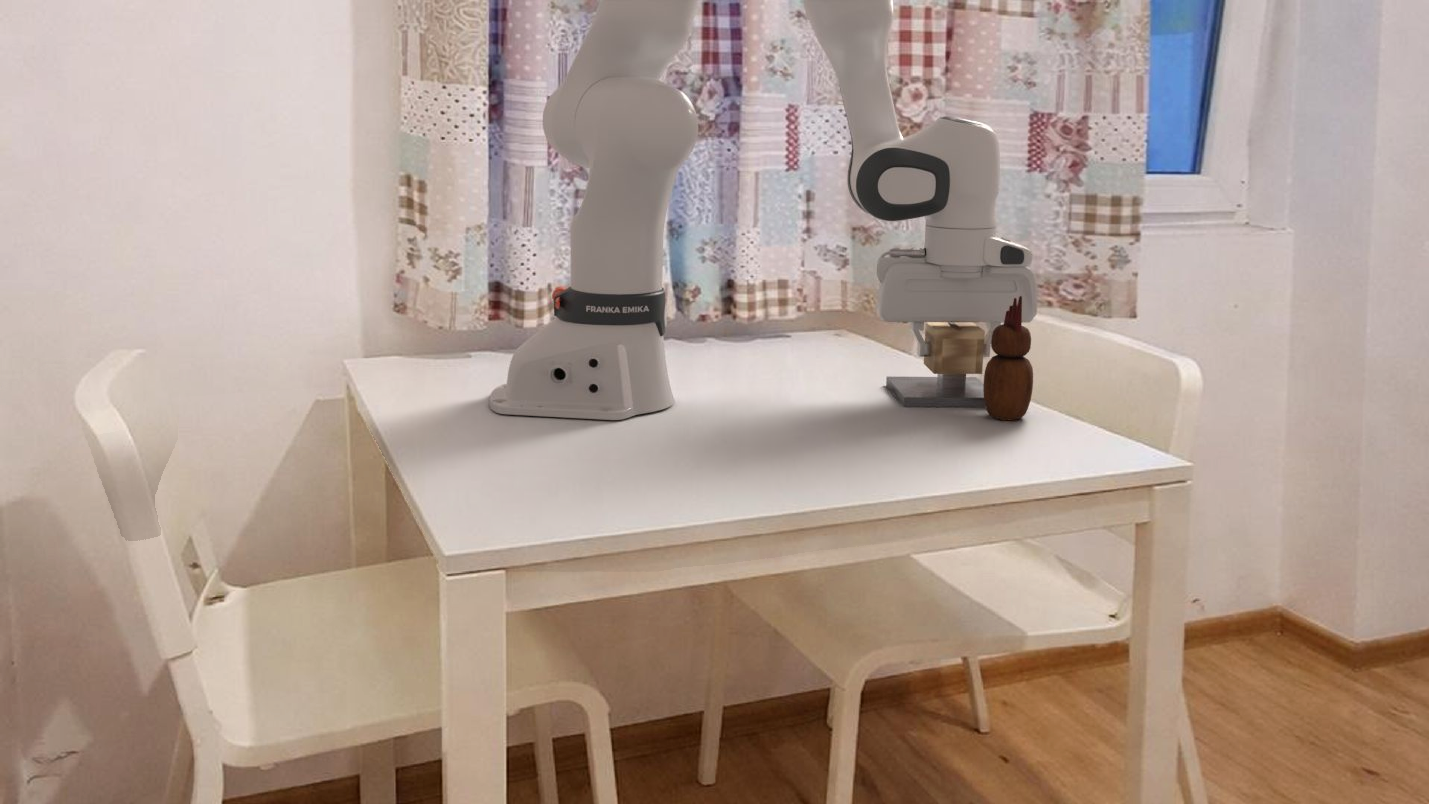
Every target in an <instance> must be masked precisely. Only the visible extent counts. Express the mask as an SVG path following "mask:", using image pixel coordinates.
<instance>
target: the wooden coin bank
mask: <svg viewBox="0 0 1429 804" xmlns="http://www.w3.org/2000/svg"><path fill="white" fill-rule="evenodd" d="M924 330H925V332H924V341H929V342H930V343H931V344H932V347H931V350H930V351H931V356H930V357H923V365H924V366H926V367H927V369H929V371H930V372H932V374H934V375H938V374H966V375H982V374H983V370H984V369H983V368H984V367H983V365H984V357H983V353H984V338H985V335H986V331H985V330H984V329H983V328H981V327H980V326H978V325H977V324H976V323H975V322H925V327H924Z"/></svg>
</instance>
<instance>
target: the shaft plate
mask: <svg viewBox="0 0 1429 804" xmlns="http://www.w3.org/2000/svg"><path fill="white" fill-rule="evenodd" d="M936 375H937V376H886V378H885V379H886V381H885V384H886V387H887V388H888V390H890V392H891V393H892V394H893V396H894V397H895V398H896V399H897V401H898V402H899V403H900V404H901V406H903V408H904V407H908V408H909V407H915V408H916V407H918V408H919V407H923V408H927V407H930V408H931V407H932V408H935V407H937V408H938V407H939V408H941V407H942V408H986V406H985V400H984V390H983V386H984V382H982V381H981V380H980V379H979V378H977V376H967V374H936Z"/></svg>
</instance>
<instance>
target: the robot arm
mask: <svg viewBox="0 0 1429 804" xmlns="http://www.w3.org/2000/svg"><path fill="white" fill-rule="evenodd" d="M801 1H802V3H803V8H804V10H805V13H806V16H807V18H808V21H809V24H810V25H811V28H812V30H813V32H814V34H815V36H816V38H817V39H816V40H817V41H818V43H819V45H820V46H821V48H822V50H823V52H824V53H825V55H826V57H827V59H828V61H829V63H830V64H831V68H832V69H833V72H834V74H835V76H836V79H837V82H838V85H839V90H840V93H841V98H842V99H841V100H842V102H843V107H844V111H845V116H846V119H847V125H848V129H849V133H850V139H851V154H850V155H851V156H850V160H849V164H848V170H847V188H848V192H849V194H850V196H851V198H852V201H853V202H854V203H855V205H857V207H858V208H859V209H860V210H862V211H863V212H864V213H865V214H868V215H870V216H871V217H873V218H875V219H877V220H879V221H882V222H885V223H899V222H900V223H901V222H903V221H904V222H905V221H907V220H911V219H919V218H923V217H924V219H925V228H924V229H925V231H924V246H923V247H924V248H923V247H922V248H919V247H917V248H916V247H915V248H914V247H913V248H904V249H903V248H899V247H898V248H897V247H895V248H894V247H893V248H890V249H889V250H888V251H885V252H883V254H881V255H880V256H879V258H878V260H877V263H876V277H877V279H878V282H879V285H878V288H877V289H878V290H877V297H876V305H875V310H876V311H875V312H876V314H877V315H878V317H879V318H880V319H881V320H883V322H886V323H909V329H910V332H911V333H912V335H913V337H914V339H915V340H916V342H917V345H916V346H917V348H916V350H917V351H916V353H917V356H918V357H919V358H920V357H921V358H924V357H930V356H931V351H930V350H931V347H932V344H931V343H930V342H929V341H925V338H924V337H923V336H922V334H921V332H922V331H924V330H925V323H926V322H973V323H985V329H987V330H988V331H987V333H985V338H984V353H983V358H989V357H990V356H991V340H992V334H993V331H994V330H995V328H996V327H997V326H1000V325H1002V323H1003V324H1004V320H1005V315H1006V311H1009V307H1010V306H1013V301H1014V298H1016V299H1017V304H1018V301H1019V297H1020V296H1022V323H1027V324H1029V323H1031V322H1032V321H1033V320H1034V319H1035V318H1036V316H1037V314H1038V286H1037V285H1038V284H1037V278H1036V275H1035V273H1034V271H1033V270H1032V269H1031V268H1030V267H1028V266H1030V265H1031V264H1032V262H1033V255H1034V254H1033V252H1032V250H1030V249H1029V248H1028V247H1026V246H1024V245H1022V244H1019V243H1016V242H1014V241H1011V240H1010V239H1008V238H1005V237H998V236H997V229H998V228H997V225H998V223H997V216H996V213H995V208H996V201H997V198H998V195H999V191H1000V178H1001V174H1000V173H1001V153H1000V151H1001V150H1000V142H999V138H998V134H997V133H996V132H995V130H994V129H993V128H992V127H991V126H989V125H988V124H986V123H984V122H979V121H975V120H970V119H967V118H966V119H965V118H960V117H955V116H950V115H949V116H948V115H947V116H941V117H938V118H937V119H936V120H935V121H933V123H931V124H929V125H928V126H926V127H924V128H922V129H920V130H919V131H917V132H915V133H912V134H910V135H908V136H905V137H904V136H903V134H902V132H901V130H900V127H899V126H900V125H899V123H898V119H897V113H896V110H895V105H894V100H893V95H892V90H891V87H890V82H889V78H888V77H889V76H888V69H887V50H888V49H887V48H888V42H889V38H890V34H891V30H892V26H893V22H894V15H895V14H894V0H801ZM699 2H700V0H599V2H598V6H597V9H596V12H595V14H594V18H593V20H592V22H591V24H590V27H589V29H588V31H587V33H586V35H585V37H584V39H583V42H582V44H581V46H580V47H579V49H578V51H577V54H576V55H575V57H574V60H573V62H572V64H571V65H570V68H569V70H568V71H567V73H566V76H565V77H564V79H563V81H562V82H561V84H560V85H559V86H558V87H557V89H555V90H554V91H553V92H552V94H550V96H549V98H548V99H547V101H546V102H545V105H544V108H543V113H542V128H543V129H542V130H543V132H544V136H545V138H546V141H547V143H548V144H549V146H550V147H551V148H552V149H553V150H554V151H555V152H556V153H557V154H559V156H561V157H562V158H564V159H566V160H567V161H569V162H571V163H572V164H574V165H576V166H579V167H581V168H585V169H589V172H588V177H587V181H586V182H587V183H586V187H585V192H584V196H583V199H582V201H581V204H580V207H579V209H578V211H577V212H576V213H575V214H574V217H573V218H572V221H571V223H570V237H569V238H570V286H569V287H565V286H561V285H560V286H556V287H555V288H554V290H553V291H552V294H551V299H552V301H553V316H554V317H556V318H554V319H553V320H551V321H550V322H548V323H547V324H546V325H545V326H544V327H542V328H540V330H538V331H537V332H536V333H535V334H533V335H532V336H531V337H529V338H528V339H527V340H526V341H524V342H523V343H522V344H521V345H520V346H519V347H517V348H516V350H515V352H514V353H513V354H512V358H511V360H510V363H509V366H508V371H507V380H506V383H504V384H501V385H499V386H497V387H496V388H494V389H493V390H492V391H491V393H490V395H489V403H488V405H489V408H490V409H491V410H492V411H493V412H495V413H497V414H501V415H514V416H531V417H532V416H533V417H548V418H549V417H550V418H551V417H553V418H569V419H571V418H572V419H588V420H606V421H620V420H625V419H628V418H632V417H634V416H636V415H642V414H648V413H654V412H657V411H658V412H659V411H661V410H664V409H667V408H669V407H671V406H672V405H673V404H675V398H674V394H673V389H672V388H671V383H670V378H669V373H668V372H669V371H668V367H667V366H668V365H667V361H666V360H667V358H666V353H665V352H666V350H665V342H664V340H665V339H664V335H665V334H666V329H667V320H668V319H667V317H668V315H667V311H668V306H667V305H668V300H667V295H666V289H665V287H663V269H664V268H663V262H664V257H663V256H664V255H663V254H664V232H665V223H666V215H667V211H668V207H669V202H670V198H671V195H672V191H673V187H674V184H675V181H676V178H677V175H678V172H679V170H680V168H681V166H682V165H683V163H685V162H686V160H687V159H688V158H689V157H690V155H691V154H692V152H693V151H694V149H695V145H696V143H697V140H698V133H699V121H698V115H697V111H696V109H695V106H694V105H693V103H692V102H691V100H690V99H689V97H688V96H687V95H686V94H685V93H684V92H683V91H682V90H680V89H678V88H677V87H675V86H673V85H670V84H668V83H667V82H664V81H662V80H660V79H661V78H662V76H663V74H664V72H665V70H666V69H667V68H668V66H669V64H670V63H671V61H672V60H673V58H674V57H676V55H677V54H678V53H679V52H680V51H681V50H682V49H683V48H684V46H685V45H686V43H687V41H688V39H689V38H690V35H691V30H692V27H693V23H694V20H695V17H696V12H697V9H698V4H699ZM1022 323H1021V324H1022ZM920 331H921V332H920Z"/></svg>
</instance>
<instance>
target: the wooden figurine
mask: <svg viewBox="0 0 1429 804" xmlns="http://www.w3.org/2000/svg"><path fill="white" fill-rule="evenodd" d="M1031 345H1032V336H1031V332H1030V330H1029V328H1028V327H1026V326H1023V325H1022V296H1020V297H1019V301H1018V304H1017V299H1016V298H1014V301H1013V306H1010V307H1009V311H1006V315H1005V320H1004V323H1003V324H1001V325H1000V326H997V327H996V328H995V330H994V331H993V334H992V340H991V346H990V348H991V350H992V351H993V352H994V353H995V354H996V355H994V356H992V357H991V358H990V359H989V360H988V362H987V363H986V367H985V369H984V376H983V384H984V386H983V390H984V400H985V406H986V407H985V409H986V410H985V411H986V412H987V413H988V415H989V416H990V417H992V418H995V419H998V420H1002V421H1015V420H1019V419H1021V418H1023V417H1024V416H1025V415H1026V414H1027V412H1028V410H1029V406H1030V403H1031V399H1032V394H1033V390H1034V370H1033V366H1032V363H1031V362H1030V360H1029V359H1028V358H1026V355H1027V354H1028V353H1029V351H1030V350H1031V347H1032V346H1031Z"/></svg>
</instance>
